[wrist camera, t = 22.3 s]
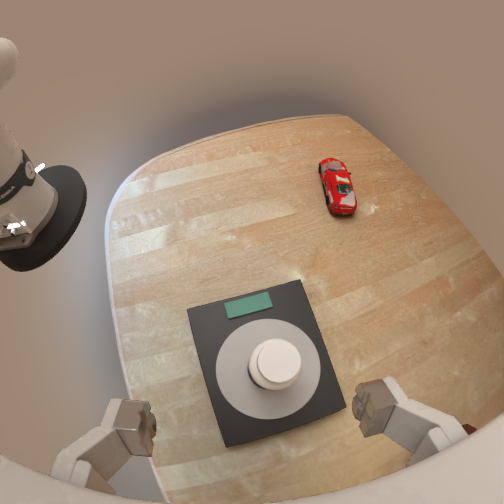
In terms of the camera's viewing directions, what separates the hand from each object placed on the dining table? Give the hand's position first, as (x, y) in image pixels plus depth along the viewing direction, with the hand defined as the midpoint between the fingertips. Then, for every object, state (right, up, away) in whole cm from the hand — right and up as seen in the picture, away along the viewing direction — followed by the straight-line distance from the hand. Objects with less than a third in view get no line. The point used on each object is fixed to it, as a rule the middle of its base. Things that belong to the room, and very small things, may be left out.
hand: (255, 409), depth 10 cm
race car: (+15, +17, +41) cm, 47 cm away
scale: (+2, -9, +26) cm, 28 cm away
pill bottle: (+2, -8, +23) cm, 25 cm away
